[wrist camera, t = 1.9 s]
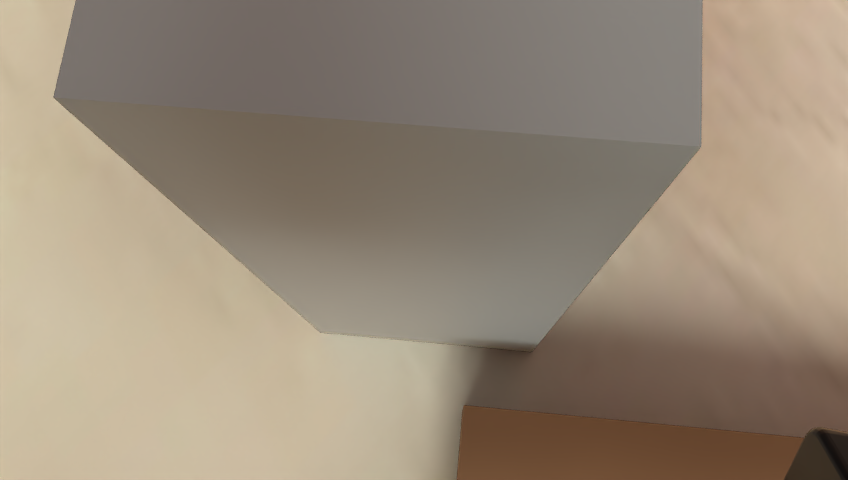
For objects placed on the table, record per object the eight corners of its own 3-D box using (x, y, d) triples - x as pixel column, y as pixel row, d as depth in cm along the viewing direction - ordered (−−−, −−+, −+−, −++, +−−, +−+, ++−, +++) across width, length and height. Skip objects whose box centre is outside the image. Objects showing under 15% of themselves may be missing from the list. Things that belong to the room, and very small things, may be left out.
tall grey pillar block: (532, 351, 18) (700, 146, 6) (320, 332, 19) (53, 97, 6) (541, 189, 19) (704, -282, 7) (341, 173, 20) (146, -307, 7)
